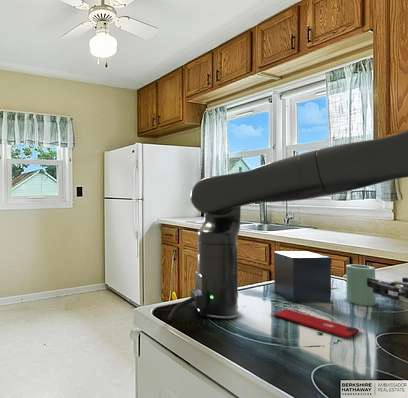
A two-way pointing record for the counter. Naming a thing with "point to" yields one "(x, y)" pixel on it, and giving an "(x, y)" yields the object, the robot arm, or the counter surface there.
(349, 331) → the electronic device
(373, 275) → the jar
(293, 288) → the dark gray box
